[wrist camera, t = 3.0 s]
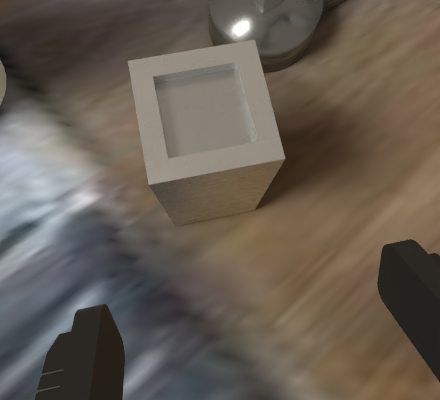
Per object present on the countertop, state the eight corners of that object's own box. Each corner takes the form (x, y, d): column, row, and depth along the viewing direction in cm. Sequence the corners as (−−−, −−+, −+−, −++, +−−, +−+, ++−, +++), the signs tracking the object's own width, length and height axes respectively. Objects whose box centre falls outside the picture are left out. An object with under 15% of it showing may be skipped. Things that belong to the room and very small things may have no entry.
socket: (161, 151, 23) (127, 60, 14) (237, 137, 23) (254, 39, 14) (175, 226, 22) (148, 184, 13) (254, 210, 22) (285, 158, 13)
